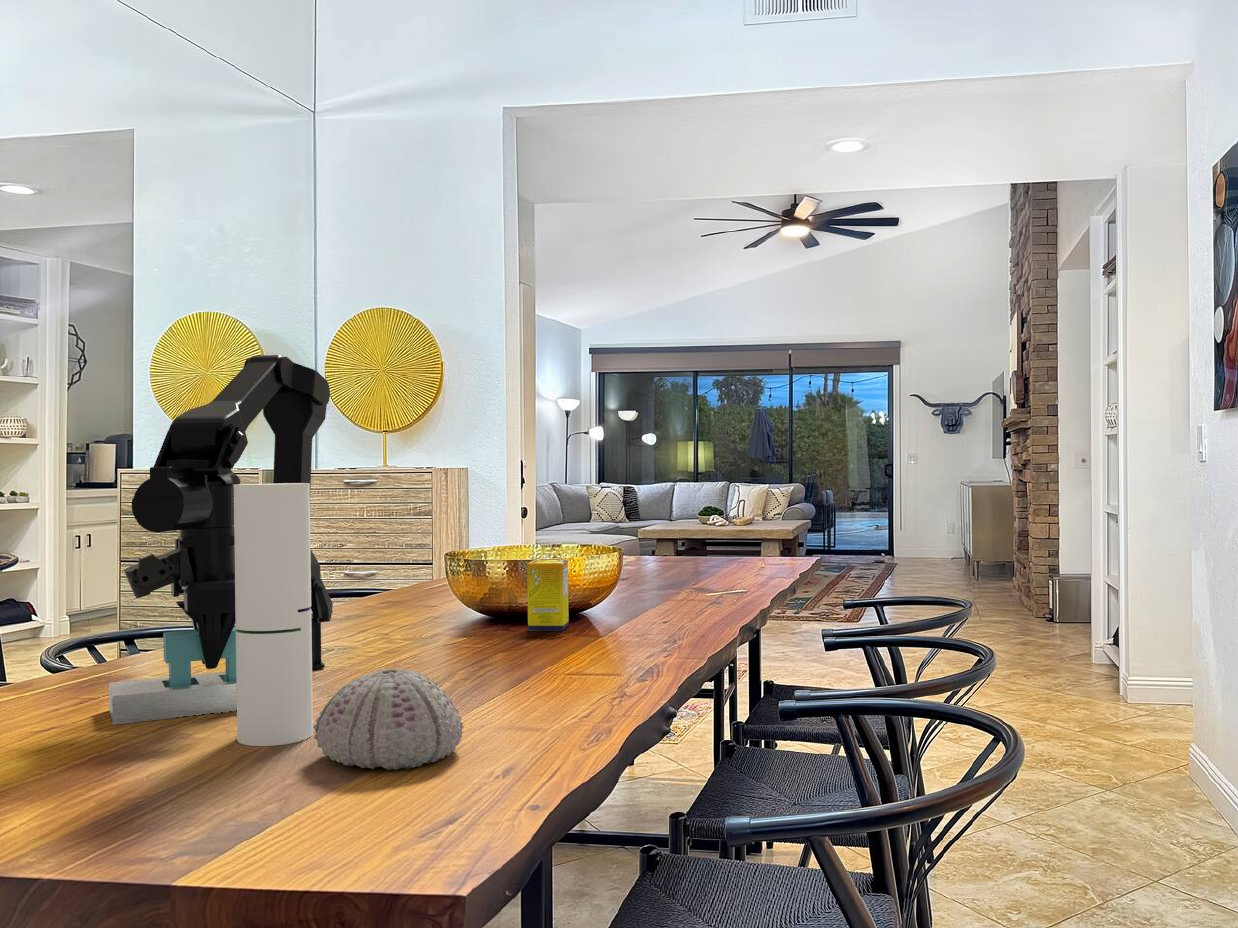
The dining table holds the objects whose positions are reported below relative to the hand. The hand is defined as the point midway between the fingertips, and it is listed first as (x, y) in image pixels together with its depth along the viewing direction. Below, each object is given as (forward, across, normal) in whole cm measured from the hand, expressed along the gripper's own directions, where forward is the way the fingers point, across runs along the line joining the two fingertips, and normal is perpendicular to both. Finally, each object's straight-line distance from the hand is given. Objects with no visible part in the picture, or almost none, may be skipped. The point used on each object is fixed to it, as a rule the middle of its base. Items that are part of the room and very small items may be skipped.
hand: (209, 666), depth 120 cm
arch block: (+3, 0, 0) cm, 3 cm away
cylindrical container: (+5, +18, +4) cm, 19 cm away
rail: (+4, 0, 0) cm, 5 cm away
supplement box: (+5, -33, +56) cm, 65 cm away
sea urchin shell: (+5, +31, +12) cm, 34 cm away
